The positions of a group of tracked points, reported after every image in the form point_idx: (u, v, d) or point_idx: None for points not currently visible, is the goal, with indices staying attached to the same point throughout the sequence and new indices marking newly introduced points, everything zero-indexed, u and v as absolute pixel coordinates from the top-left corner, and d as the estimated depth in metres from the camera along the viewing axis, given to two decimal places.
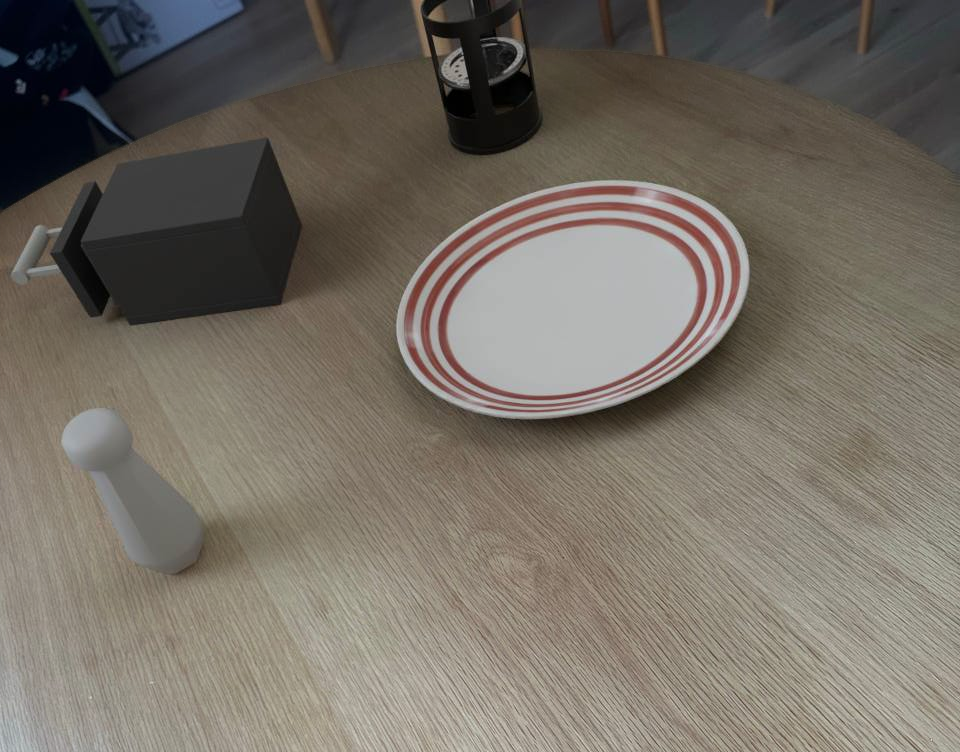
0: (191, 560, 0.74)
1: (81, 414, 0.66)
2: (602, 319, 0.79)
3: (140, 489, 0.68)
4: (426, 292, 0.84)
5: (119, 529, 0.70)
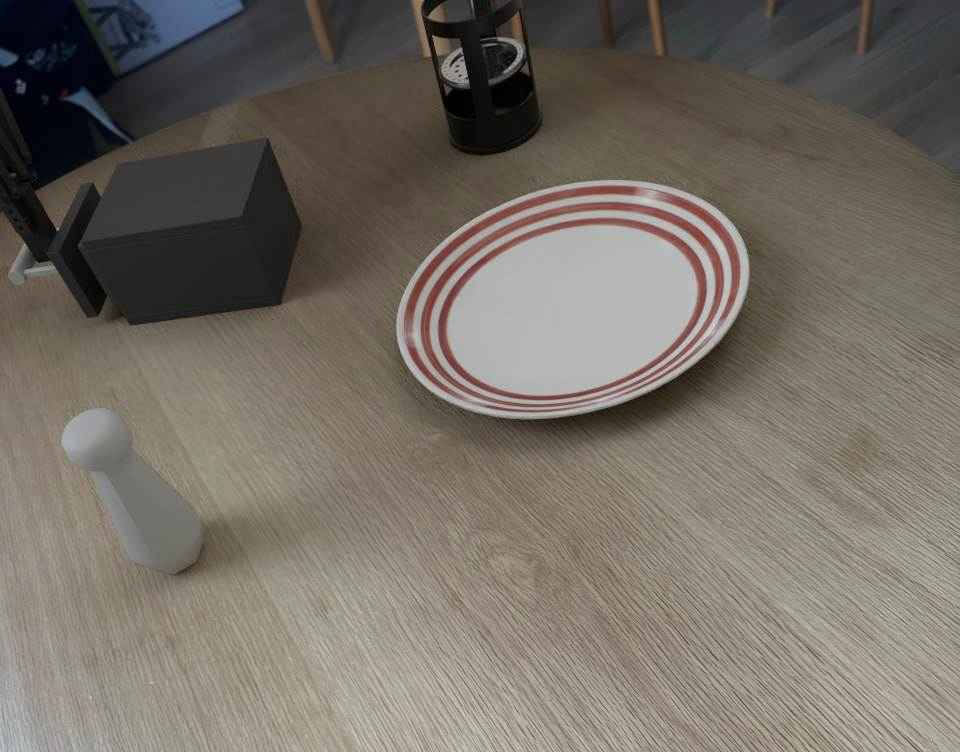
0: (191, 560, 0.74)
1: (81, 414, 0.66)
2: (602, 319, 0.79)
3: (140, 489, 0.68)
4: (426, 292, 0.84)
5: (119, 529, 0.70)
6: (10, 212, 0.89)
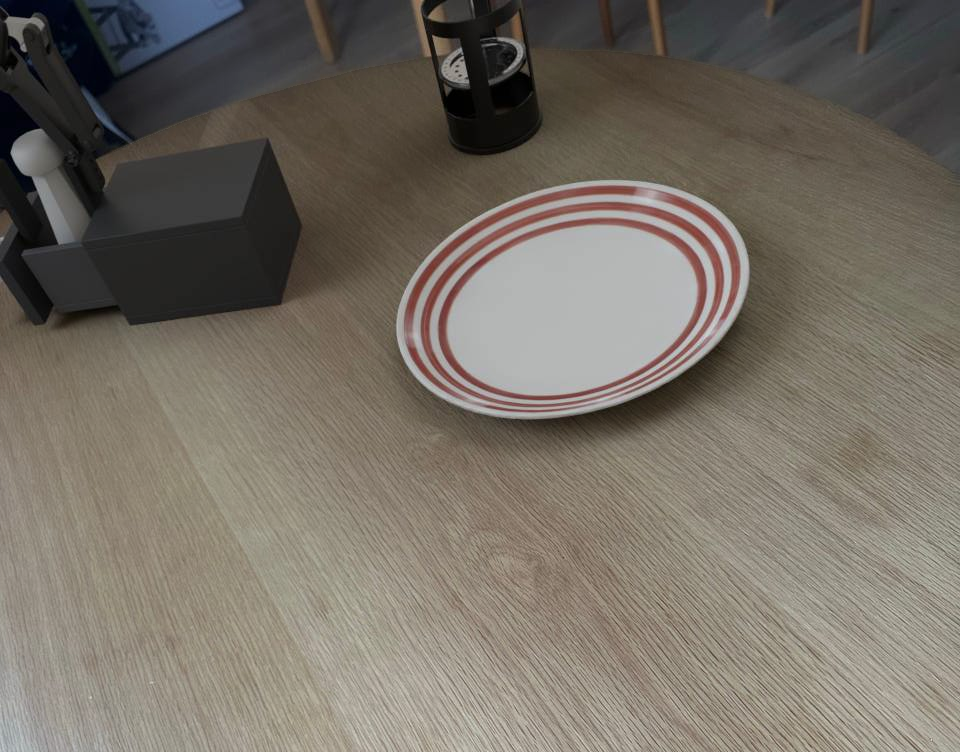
0: None
1: (26, 133, 0.86)
2: (602, 319, 0.79)
3: (73, 198, 0.89)
4: (426, 292, 0.84)
5: (58, 236, 0.91)
6: None
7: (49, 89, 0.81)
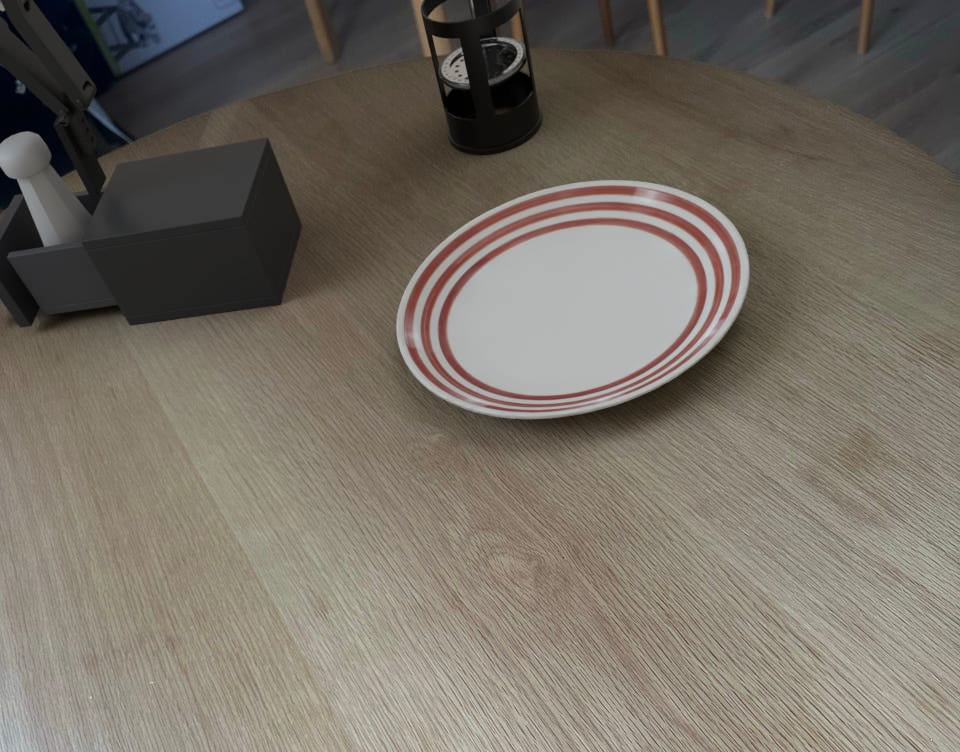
0: None
1: None
2: (602, 319, 0.79)
3: (58, 200, 0.89)
4: (426, 292, 0.84)
5: (44, 239, 0.91)
6: None
7: (33, 48, 0.78)
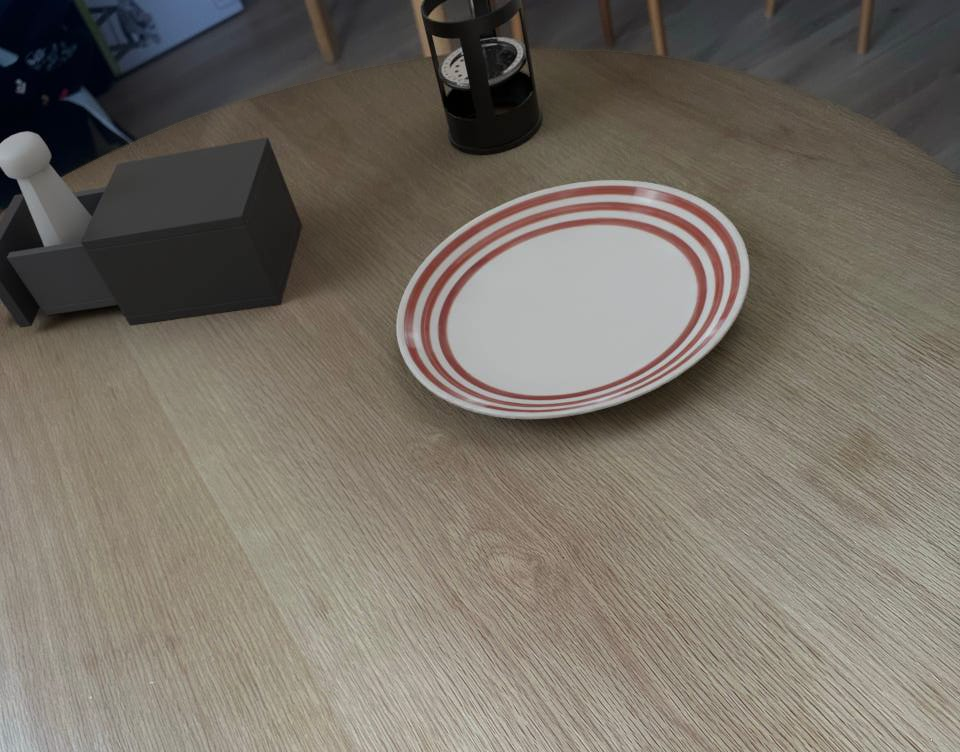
0: None
1: None
2: (602, 319, 0.79)
3: (58, 200, 0.89)
4: (426, 292, 0.84)
5: (44, 239, 0.91)
6: None
7: None
